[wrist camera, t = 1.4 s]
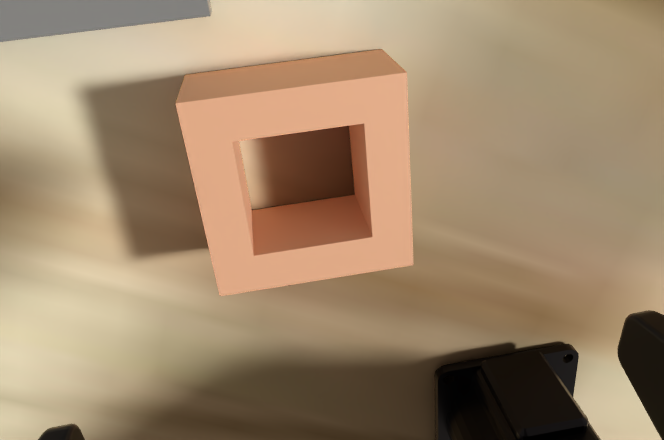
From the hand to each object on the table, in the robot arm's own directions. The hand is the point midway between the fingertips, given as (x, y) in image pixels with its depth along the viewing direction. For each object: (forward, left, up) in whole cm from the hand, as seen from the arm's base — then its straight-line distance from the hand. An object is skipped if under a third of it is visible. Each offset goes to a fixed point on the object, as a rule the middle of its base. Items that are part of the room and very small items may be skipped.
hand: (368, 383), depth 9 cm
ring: (-1, 0, -12) cm, 12 cm away
